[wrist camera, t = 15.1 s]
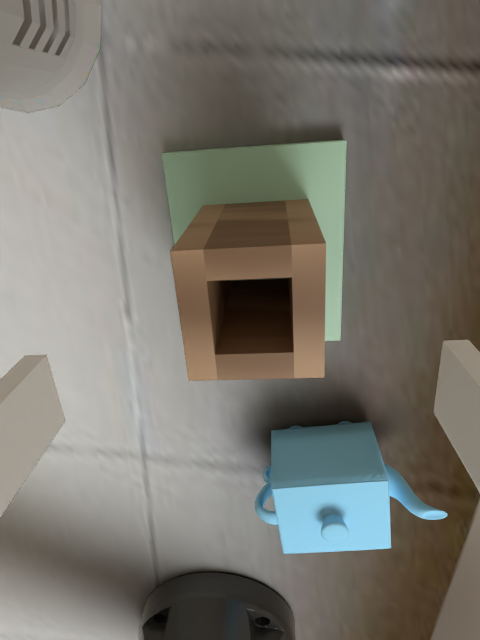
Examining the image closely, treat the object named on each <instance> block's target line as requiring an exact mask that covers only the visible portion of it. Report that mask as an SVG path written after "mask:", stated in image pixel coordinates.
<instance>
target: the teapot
mask: <svg viewBox="0 0 480 640" xmlns="http://www.w3.org/2000/svg"><path fill="white" fill-rule="evenodd" d="M263 478H264V481H265V482H266V483H267V484H266V485H265V486H264V487H263V489H262V490H261V491H260V492H259V494H258V496H257V498H256V501H255V509H256V512H257V514H258V516H259V517H260V518H261V519H262V520H263V521H265V522H267V523H269V524H274V525H278V528H279V533H280V538H281V544H282V549H283V553H284V554H291V553H313V552H334V551H353V550H370V549H386V548H391V532H390V502H389V496H392V497H394V498H396V499H398V500H399V501H400V502H401V503H402V504H403V505H404V506H405V507H406V508H407V509H408V510H409V511H410V512H411V513H413V514H414V515H416V516H418V517H420V518H423V519H430V520H437V519H442V518H445V517H447V513H446V512H444V511H442V510H439V509H436V508H433V507H430V506H428V505H426V504H425V503H423V502H422V501H421V500H420V499H419V498H418V497H417V496H416V495H415V494H414V493H413V491H412V490H411V488H410V487H409V485H408V484H407V483H406V481H405V480H404V478H403V477H402V476H401V475H400V474H399V473H398V472H397V471H396V470H395V469H393V468H392V467H390V466H388V465H386V464H384V462H383V459H382V456H381V453H380V450H379V446H378V443H377V440H376V437H375V434H374V430H373V427H372V424H371V422H359V423H351V422H349V421H342V422H340V423H338V424H336V425H325V426H313V427H301V426H291V427H290V428H289V429H280V430H271V466H268V467H267V468H266V469H265V470H264V473H263ZM271 495H273V501H274V506H275V511H276V512H273V511H268V510H266V509H264V508H263V506H264V504H265V502H266V501H267V499H268V498H269V497H270V496H271Z"/></svg>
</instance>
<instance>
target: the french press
mask: <svg viewBox="0 0 480 640" xmlns="http://www.w3.org/2000/svg"><path fill="white" fill-rule="evenodd" d="M101 17H102V4H101V0H0V107H3V108H7V109H12V110H16V111H21V112H26V113H31V112H35V111H39V110H43V109H48V108H52V107H56V106H60V105H61V104H62V103H63V102H65V101H66V100H67V99H68V98H69V97H70V96H71V95H73V94H74V93H75V92H76V91H77V90H78V89H79V88H81V87H82V86H83V85H84V84H85V82H86V80H87V78H88V75H89V73H90V71H91V69H92V66H93V64H94V62H95V59H96V57H97V55H98V53H99V50H100V39H101Z"/></svg>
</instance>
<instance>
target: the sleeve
mask: <svg viewBox="0 0 480 640" xmlns="http://www.w3.org/2000/svg"><path fill="white" fill-rule="evenodd" d="M170 253H171V260H172V267H173V274H174V281H175V288H176V295H177V302H178V309H179V316H180V323H181V330H182V337H183V344H184V350H185V357H186V364H187V371H188V378H189V381H197V380H240V379H283V378H324V366H325V293H326V242H325V239H324V237H323V234H322V232H321V229H320V227H319V224H318V222H317V219H316V217H315V214H314V212H313V209H312V207H311V204H310V202H309V199H301V200H284V201H267V202H251V203H234V204H217V205H203V206H202V207H201V209H200V210H199V212H198V213H197V214H196V216H195V217H194V219H193V220H192V221H191V223H190V224H189V226H188V227H187V228H186V230H185V231H184V233H183V234H182V235H181V237H180V238H179V240H178V241H177V242H176V244H175V245H174V247H173V248H172V249H171V251H170ZM265 278H287V279H270V280H247V281H232V280H242V279H265Z"/></svg>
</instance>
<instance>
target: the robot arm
mask: <svg viewBox="0 0 480 640" xmlns="http://www.w3.org/2000/svg"><path fill="white" fill-rule="evenodd" d="M434 414H435V416H436V417H437V419H438V421H439V423H440V424H441V426H442V428H443V429H444V431H445V433H446V435H447V436H448V438H449V440H450V442H451V443H452V445H453V447H454V449H455V450H456V452H457V454H458V456H459V457H460V459H461V461H462V463H463V464H464V466H465V468H466V470H467V471H468V473H469V475H470V477H471V478H472V480H473V482H474V484H475V485H476V487H477V489H478V491H479V492H480V352H479V351H478V350H477V349H476V348H475V347H474V346H473V345H472V343H471V342H470V341H469V340H450V341H443V346H442V353H441V361H440V368H439V376H438V383H437V390H436V398H435V405H434ZM64 422H65V418H64V414H63V411H62V407H61V404H60V400H59V397H58V393H57V390H56V386H55V383H54V379H53V376H52V372H51V369H50V365H49V362H48V358H47V355H30V356H24V357H23V358H22V359H21V360H20V361H19V362H18V363H17V364H16V365H15V366H14V367H13V368H12V369H11V370H10V371H9V372H8V373H7V374H6V375H5V376H4V377H3V378H2V379H1V380H0V517H1V516H2V514H3V513H4V511H5V510H6V508H7V507H8V505H9V504H10V502H11V501H12V499H13V498H14V496H15V495H16V493H17V492H18V491H19V489H20V488H21V486H22V485H23V483H24V482H25V480H26V479H27V477H28V476H29V474H30V473H31V471H32V470H33V468H34V467H35V465H36V464H37V462H38V461H39V459H40V458H41V456H42V455H43V453H44V452H45V450H46V449H47V447H48V446H49V444H50V443H51V441H52V440H53V438H54V437H55V435H56V434H57V432H58V431H59V429H60V428H61V426H62V425H63V423H64ZM139 640H295V622H294V617H293V614H292V612H291V610H290V608H289V606H288V605H287V603H286V602H285V601H284V600H283V599H282V598H281V597H280V596H279V595H278V594H276V593H275V592H274V591H272V590H271V589H269V588H267V587H266V586H264V585H262V584H260V583H258V582H255V581H253V580H250V579H247V578H244V577H240V576H236V575H231V574H224V573H195V574H188V575H184V576H180V577H177V578H174V579H171V580H169V581H167V582H165V583H163V584H162V585H160V586H159V587H157V588H156V589H155V590H154V591H153V592H152V593H151V594H150V596H149V597H148V599H147V601H146V603H145V607H144V611H143V614H142V618H141V622H140V627H139Z"/></svg>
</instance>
